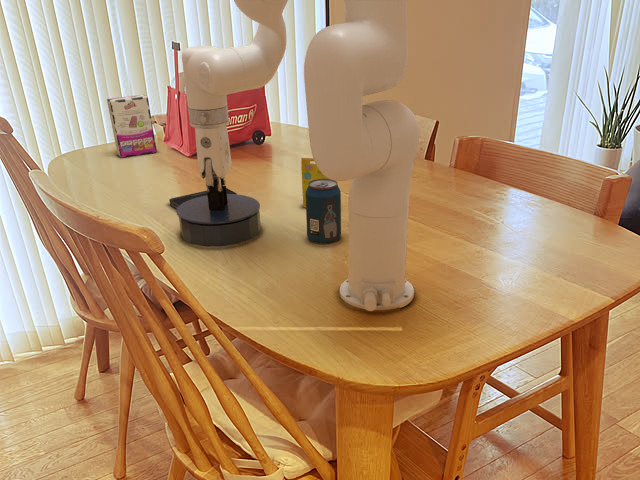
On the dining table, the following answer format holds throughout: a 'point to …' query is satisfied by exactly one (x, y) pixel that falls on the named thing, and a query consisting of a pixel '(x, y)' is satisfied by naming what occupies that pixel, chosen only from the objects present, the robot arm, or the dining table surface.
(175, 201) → the phone
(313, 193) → the soda can
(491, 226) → the dining table surface
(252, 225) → the pot
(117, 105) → the candy bar box
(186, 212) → the lid
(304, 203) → the crayon box
